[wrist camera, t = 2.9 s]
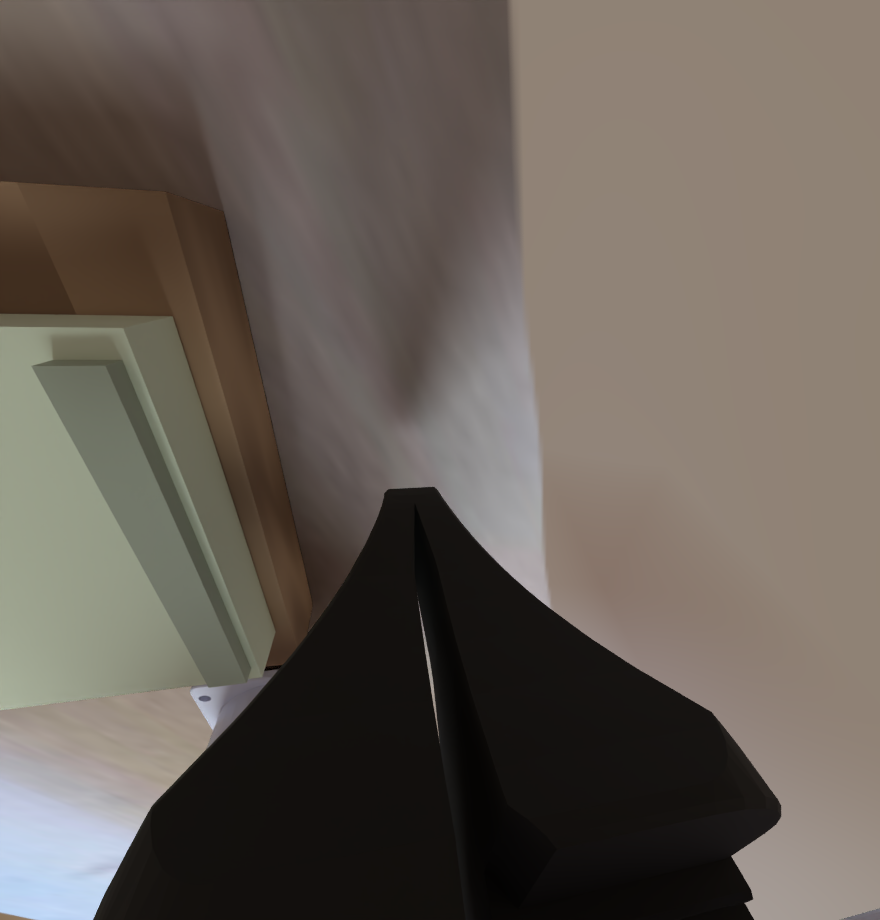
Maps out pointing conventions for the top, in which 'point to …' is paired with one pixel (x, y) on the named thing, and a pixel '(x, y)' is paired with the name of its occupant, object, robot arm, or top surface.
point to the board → (200, 330)
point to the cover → (115, 519)
